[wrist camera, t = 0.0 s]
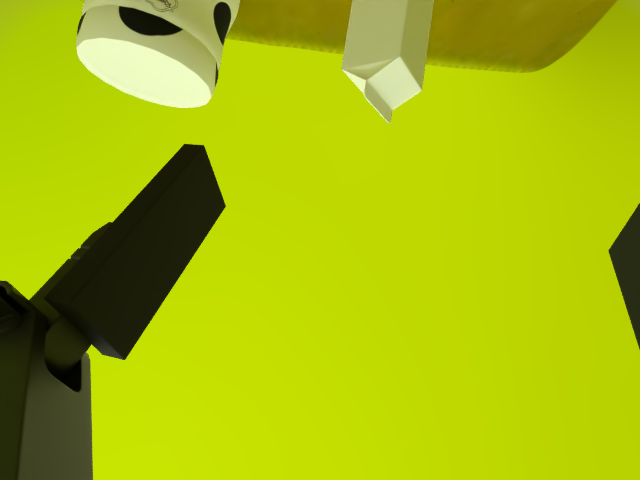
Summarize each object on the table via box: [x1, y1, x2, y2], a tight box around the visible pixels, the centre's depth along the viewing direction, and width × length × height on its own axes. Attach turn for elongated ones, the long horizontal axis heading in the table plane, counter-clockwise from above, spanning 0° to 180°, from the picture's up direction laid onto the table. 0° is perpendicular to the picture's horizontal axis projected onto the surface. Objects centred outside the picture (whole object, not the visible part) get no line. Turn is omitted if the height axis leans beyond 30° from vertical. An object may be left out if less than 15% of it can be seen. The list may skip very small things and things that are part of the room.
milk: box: [342, 0, 434, 123], centre depth 38 cm, size 6×6×22 cm
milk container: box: [77, 0, 240, 108], centre depth 47 cm, size 17×17×18 cm
